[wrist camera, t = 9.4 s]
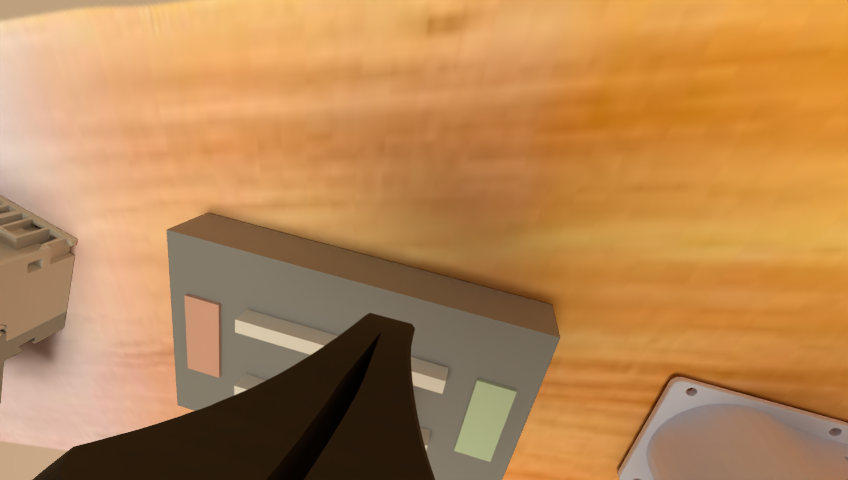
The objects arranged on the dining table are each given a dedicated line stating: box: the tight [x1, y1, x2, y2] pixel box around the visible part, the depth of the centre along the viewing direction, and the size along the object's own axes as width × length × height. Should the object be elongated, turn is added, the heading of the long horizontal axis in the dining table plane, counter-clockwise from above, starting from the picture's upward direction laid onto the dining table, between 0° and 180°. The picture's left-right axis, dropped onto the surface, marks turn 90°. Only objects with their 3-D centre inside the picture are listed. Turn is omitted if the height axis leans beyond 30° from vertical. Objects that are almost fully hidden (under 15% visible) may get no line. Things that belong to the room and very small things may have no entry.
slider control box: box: [167, 213, 560, 480], centre depth 22 cm, size 20×12×4 cm, turn 79°
